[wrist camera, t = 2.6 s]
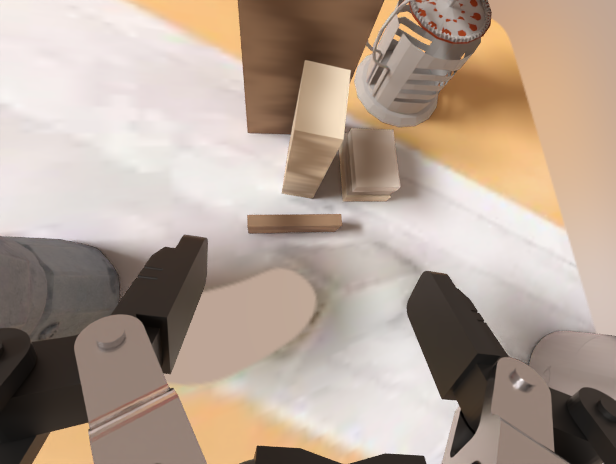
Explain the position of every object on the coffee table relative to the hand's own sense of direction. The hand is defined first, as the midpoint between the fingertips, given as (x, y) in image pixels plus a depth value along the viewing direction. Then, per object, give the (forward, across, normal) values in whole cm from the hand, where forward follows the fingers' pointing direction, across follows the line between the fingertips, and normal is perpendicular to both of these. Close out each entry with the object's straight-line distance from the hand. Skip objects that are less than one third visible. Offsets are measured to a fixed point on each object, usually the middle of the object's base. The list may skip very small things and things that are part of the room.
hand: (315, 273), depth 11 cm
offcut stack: (+20, -6, +2) cm, 21 cm away
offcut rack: (+19, +1, +3) cm, 19 cm away
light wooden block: (+19, 0, +3) cm, 19 cm away
